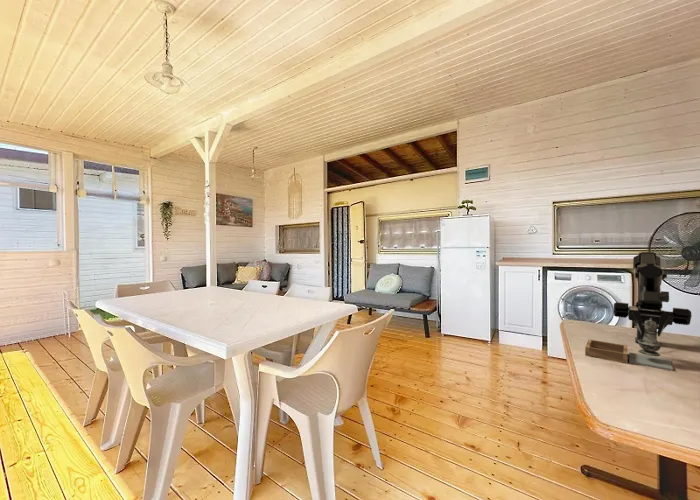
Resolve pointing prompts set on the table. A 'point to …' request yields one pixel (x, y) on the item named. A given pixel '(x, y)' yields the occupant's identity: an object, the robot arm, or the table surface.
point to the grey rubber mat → (650, 361)
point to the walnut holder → (606, 351)
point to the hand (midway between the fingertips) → (650, 334)
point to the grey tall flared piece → (649, 339)
